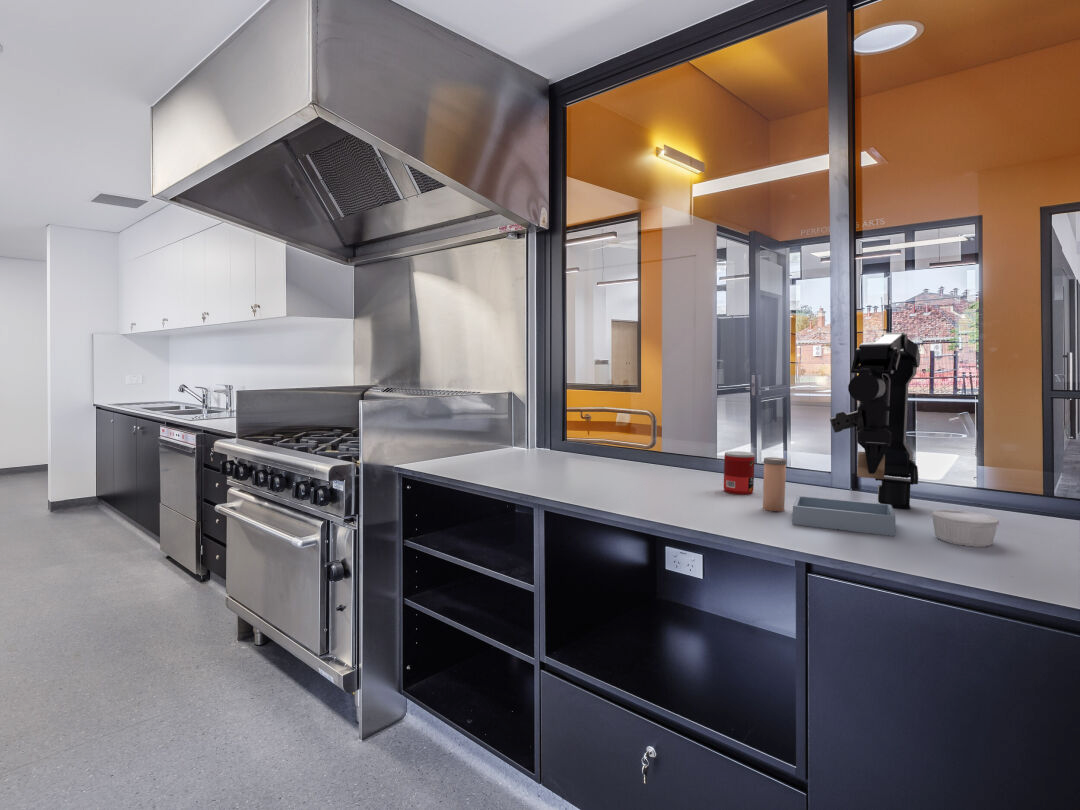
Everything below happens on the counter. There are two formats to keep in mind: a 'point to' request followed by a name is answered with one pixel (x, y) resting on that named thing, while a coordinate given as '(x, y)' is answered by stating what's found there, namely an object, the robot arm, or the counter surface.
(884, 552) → the counter surface
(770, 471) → the shaker
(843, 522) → the tote
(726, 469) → the canned food
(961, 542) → the ramekin
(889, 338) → the robot arm
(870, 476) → the cube
